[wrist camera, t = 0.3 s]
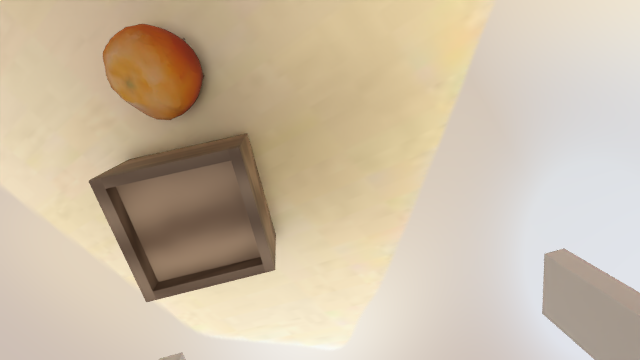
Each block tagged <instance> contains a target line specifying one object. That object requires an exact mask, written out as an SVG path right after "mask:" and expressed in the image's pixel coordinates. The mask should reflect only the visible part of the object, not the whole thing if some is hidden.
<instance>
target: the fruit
mask: <svg viewBox="0 0 640 360" xmlns="http://www.w3.org/2000/svg"><path fill="white" fill-rule="evenodd" d="M184 39H185V38H183V39H181V38H179V37H178V36H176V35H175V34H173V33H171V32H169V31H167V30H164V29H162V28H159V27H155V26H151V25H147V24H139V25H135V26H130V27H125V28H124V29H123V30H121V31H119V32H118V33H117V34H115V35H114V36H113V38H111V39H110V41H109V43H108V44H107V45H106V47H105V50H104V51H103V60H104V64H105V69H106V76H107V78H108V81H109V83H110V85H111V87H112V89H113V90H115V91H116V92H117V93H118V94H119V95H120V97H121V98H122V99H124V100H125V101H126V102H128V103H129V104H131V105H132V106H134V107H135V108H137V109H138V110H140V111H142V112H143V113H145V114H146V115H148V116H150V117H153V118H156V119H165V120H171V119H173V118H175V117H177V116H180V115H182V114H184V113H185V112H186V111H187V110H188V109H189V108H190V107H191V106H192V105H193V104H194V102H195V101H196V99H197V97H198V95H199V93H200V89H201V86H202V80H203V77H204V75H203V73H202V69H201V65H200V62H199V59H198V57H197V55H196V54H195V52H194V51H193V49H192V48H191V47H190V46H189V45H188V44H187V43H186V42H185V41H184Z"/></svg>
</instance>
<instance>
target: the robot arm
mask: <svg viewBox="0 0 640 360" xmlns="http://www.w3.org/2000/svg"><path fill="white" fill-rule="evenodd" d="M542 314H543V315H545V316H546V317H547V318H548V319H549V320H550V321H551V322H553V323H554V324H555V325H556V326H557V327H559V329H561V330H562V331H563V332H564V333H565V334H566V335H567V336H569V337H570V338H571V339H572V340H573V341H574V342H575V343H576V344H578V345H579V346H580V347H581V348H582V349H583V350H585V351H586V352H587V353H588V354H589V355H590V356H591V357H592V358H594V359H595V360H640V293H639V292H637V291H636V290H634V289H632V288H631V287H629V286H627V285H626V284H624V283H622V282H620V281H619V280H617V279H615V278H614V277H612V276H610V275H609V274H607V273H605V272H603V271H602V270H600V269H598V268H597V267H595V266H593V265H591V264H590V263H588V262H586V261H585V260H583V259H581V258H579V257H578V256H576V255H574V254H573V253H571V252H569V251H568V250H566V249H561V250H557V251H553V252H550V253H546V254H545V256H544V282H543V309H542ZM159 360H186V359H185V357H184V355H183V353H179V354H175V355H171V356H168V357H164V358H160V359H159Z"/></svg>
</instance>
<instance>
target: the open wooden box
mask: <svg viewBox="0 0 640 360" xmlns="http://www.w3.org/2000/svg"><path fill="white" fill-rule="evenodd" d="M89 183H90V185H91V187H92V189H93V191H94V193H95V196H96V198H97V200H98V202H99V204H100V206H101V208H102V210H103V212H104V214H105V217H106V219H107V221H108V223H109V225H110V227H111V229H112V231H113V233H114V235H115V238H116V240H117V242H118V244H119V246H120V248H121V250H122V252H123V254H124V256H125V259H126V261H127V263H128V265H129V267H130V269H131V271H132V273H133V275H134V277H135V280H136V282H137V284H138V286H139V288H140V290H141V292H142V294H143V296H144V298H145V301H146V302H149V301H153V300H157V299H161V298H165V297H169V296H173V295H177V294H181V293H185V292H189V291H193V290H197V289H201V288H205V287H209V286H213V285H217V284H221V283H225V282H229V281H233V280H237V279H241V278H245V277H249V276H253V275H257V274H261V273H265V272H269V271H273V270H275V244H276V235H275V231H274V228H273V224H272V220H271V217H270V213H269V210H268V206H267V203H266V199H265V195H264V192H263V188H262V185H261V181H260V178H259V174H258V170H257V167H256V163H255V160H254V156H253V153H252V149H251V145H250V142H249V138H248V135H247V134H243V135H238V136H234V137H229V138H225V139H220V140H216V141H211V142H207V143H202V144H198V145H193V146H189V147H184V148H180V149H175V150H170V151H166V152H161V153H157V154H152V155H148V156H143V157H139V158H134V159H130V160H127V161H125V162H123V163H122V164H120V165H118V166H116V167H114V168H112V169H110V170H108V171H106V172H104V173H102V174H101V175H99V176H97V177H95V178H93V179H91V180H89Z"/></svg>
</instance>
